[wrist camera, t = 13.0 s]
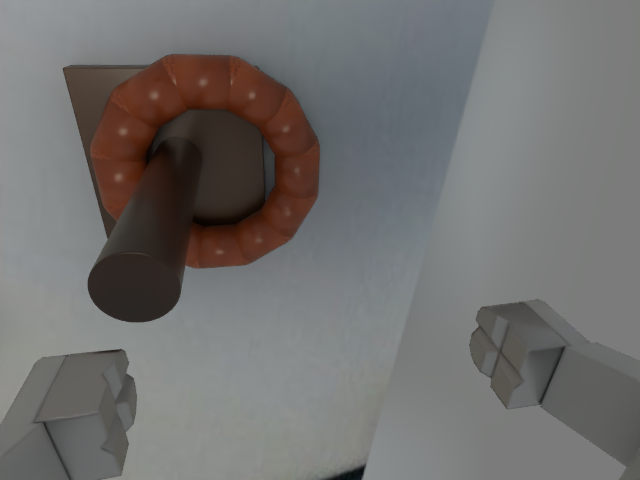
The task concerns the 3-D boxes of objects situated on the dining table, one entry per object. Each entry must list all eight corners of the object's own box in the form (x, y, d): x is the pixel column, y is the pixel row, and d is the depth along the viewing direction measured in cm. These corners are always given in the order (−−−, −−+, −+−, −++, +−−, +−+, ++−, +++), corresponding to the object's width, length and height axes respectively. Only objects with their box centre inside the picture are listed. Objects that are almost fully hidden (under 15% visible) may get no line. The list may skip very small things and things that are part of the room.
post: (257, 65, 21) (294, 120, 10) (265, 219, 25) (296, 380, 14) (70, 64, 19) (-146, 129, 8) (112, 230, 24) (9, 422, 12)
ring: (318, 55, 20) (328, 60, 18) (311, 247, 26) (319, 267, 24) (76, 49, 18) (57, 53, 16) (124, 260, 24) (114, 283, 21)
